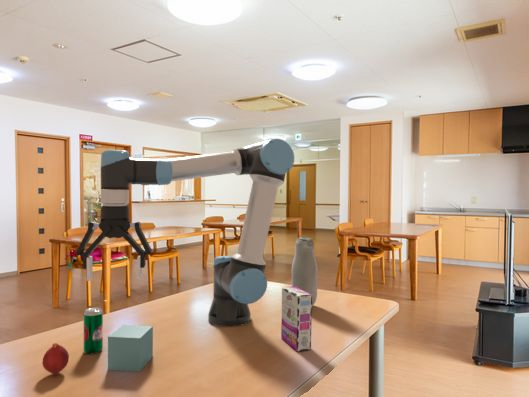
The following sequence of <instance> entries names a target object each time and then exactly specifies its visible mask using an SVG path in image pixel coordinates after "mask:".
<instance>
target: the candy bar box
mask: <svg viewBox="0 0 529 397" xmlns="http://www.w3.org/2000/svg"><path fill="white" fill-rule="evenodd" d="M312 312H313V305H312V295H311V294H309V293H307V292H305V291H303V290H301V289H299V288H297V287H292V286H286V287H282V288H281V329H280V330H281V331H280V332H281V334H280V335H281V336H280V337H281V338H280V339H281V340H282V341H284V342H285V343H286V345H287V344H288V346H289V347H291V348H293V349H294V350H295V351H296V352H298V353H299V352H304V351H311V349H312V317H313V314H312Z"/></svg>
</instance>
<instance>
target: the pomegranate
mask: <svg viewBox="0 0 529 397" xmlns="http://www.w3.org/2000/svg"><path fill="white" fill-rule="evenodd" d="M69 358H70V355H69V352H68V350H67V349H66V348H65V346H62V345H61V344H58V342H54V343H53V344H52V346H51V347H50V348H48V350H46V352H45V353H44V355H43V357H42V367H43V369H44V370H45V371H46V372H49V373H51V374H52V375H54V376H55V375H58V374H60V373H61V371H63V370H64V369H65V368H66V367H67V365H68V363H69Z"/></svg>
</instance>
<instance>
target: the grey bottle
mask: <svg viewBox="0 0 529 397" xmlns="http://www.w3.org/2000/svg"><path fill="white" fill-rule="evenodd" d="M294 244H295V247H294V248H295V250H294V255H293V256H294V257H293V258H292V259H293V260H292V263H291V287H297V288H299V289H301V290H303V291H305V292H307V293H309V294H311V295H312V306H313V305H315V303H316V302H317V299H318V298H317V297H318V279H319V278H318V277H319V275H318V274H319V273H318V272H319V269H318V268H319V267H318V263H317V262H318V261H317V259H316V254H315V250H314V248H315V247H314V246H315V243H314V240H313V239H312V238H310V237H307V236H300V237H298V238H297V239H296V241H295V243H294Z"/></svg>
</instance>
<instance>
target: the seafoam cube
mask: <svg viewBox="0 0 529 397" xmlns="http://www.w3.org/2000/svg"><path fill="white" fill-rule="evenodd" d="M153 338H154V326H153V325H133V324H122V325H121V326H120V327H118V328H117V329H116V330H115V331H113V332H112V333H110V335H108V336H107V370H109V371H111V370H112V371H128V372H141V371H142V370H143V369H144V367H146V365H147V364H148V363H149V362H150V361H151V359H153V357H154V355H153V354H154V339H153Z"/></svg>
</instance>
